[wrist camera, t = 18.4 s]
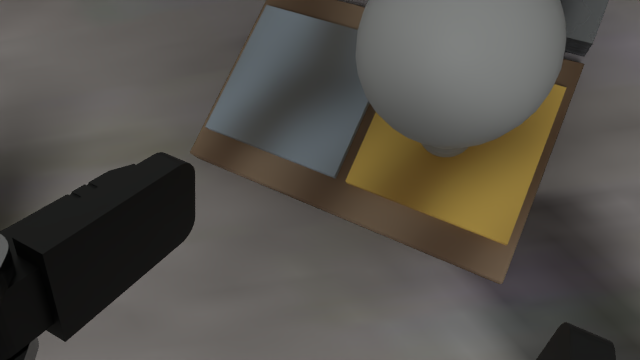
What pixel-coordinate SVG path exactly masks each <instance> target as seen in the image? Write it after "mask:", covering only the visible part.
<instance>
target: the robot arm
mask: <svg viewBox="0 0 640 360" xmlns="http://www.w3.org/2000/svg"><path fill="white" fill-rule="evenodd" d="M194 221H195V170H194V167H193V166H192V165H191V164H189V163H187V162H185V161H182V160H180V159H178V158H175V157H173V156H171V155H168V154H166V153H163V152H160V153H156V154H154V155H152V156H151V157H149V158H147V159H146V160H144V161H142V162H140V163H139V164H137V165H135V164H132V165H129V166H125V167H121V168H118V169H114V170H110V171H108V172H106V173H104V174H103V175H101V176H99V177H97V178H96V179H94V180H92V181H90V182H89V184H88V185H87V186H86V185H83V186H81V187H79V188H78V189H76V190H74V191H72V193H71V195H68V194H67V195H65V196H63V197H62V198H60V199H58V200H56V201H54V202H53V203H51V204H49V205H47V206H45V207H44V208H42V209H40V210H38V211H37V212H35V213H33V214H31V215H29V216H28V217H26V218H24V219H22V220H20V221H19V222H17V223H15V224H13V225H11V226H10V227H8V228H6V229H4V230H2V231H0V360H35V358H36V355H37V352H38V347H39V341H38V338H37V337H38V336H39V335H40V334H42V333H43V332H44V331H45V330H47V331H48V332H50V333H52V334H53V335H55V336H57V337H58V338H60V339H61V340H63V341H65V342H66V341H67V340H68V339H69V338H70V337H72V336H73V335H74V334H75V333H76V332H77V331H79V330H80V329H81V328H82V327H83V326H85V325H86V324H87V323H88V322H89V321H90V320H92V319H93V318H94V317H95V316H96V315H97V314H99V313H100V312H101V311H102V310H103V309H105V308H106V307H107V306H108V305H109V304H110V303H112V302H113V301H114V300H115V299H116V298H117V297H119V296H120V295H121V294H122V293H123V292H125V291H126V290H127V289H128V288H129V287H130V286H132V285H133V284H134V283H135V282H136V281H137V280H139V279H140V278H141V277H142V276H143V275H145V274H146V273H147V272H148V271H149V270H150V269H152V268H153V267H154V266H155V265H156V264H157V263H159V262H160V261H161V260H162V259H163V258H165V257H166V256H167V255H168V254H169V253H170V252H172V251H173V250H174V249H175V248H176V247H177V246H179V245H180V244H181V243H182V242H183V241H184V240H185V239H186V238H187V236H188V235H189V233H190V232H191V230H192V227H193V225H194ZM536 360H616V356H615V348H614V345H613V343H612V342H611V341H609V340H607V339H605V338H602V337H600V336H598V335H595V334H593V333H591V332H588V331H586V330H583V329H581V328H579V327H576V326H574V325H572V324H569V323H567V322H565V323H563V324H561V325H560V326H559V328H558V329H557V330H556V332H555V333H554V335H553V336H552V338H551V339H550V341H549V342H548V343H547V345H546V346H545V348H544V349H543V351H542V352H541V354H540V355H539V356H538V358H537V359H536Z"/></svg>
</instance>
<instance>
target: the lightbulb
mask: <svg viewBox="0 0 640 360" xmlns="http://www.w3.org/2000/svg"><path fill="white" fill-rule="evenodd" d="M565 46H566V22H565V17H564V12H563V8H562V5H561V1H560V0H369V1H368V2H367V4H366V7H365V9H364V12H363V14H362V18H361V21H360V24H359V28H358V31H357V43H356V56H355V58H356V65H357V72H358V76H359V79H360V82H361V85H362V88H363V90H364V93H365V96H366V98H367V99H368V101H369V102H370V104H371V106H372V107H373V109H374V110H375V112H376V113H377V114H378V115H379V116H380V117H381V118H383V119H384V120H385V121H386V122H387V123H388V124H389V125H390V126H391V127H392V128H393V129H395V130H396V131H398V132H399V133H401V134H402V135H404V136H405V137H407V138H409V139H412V140H414V141H417V142H419V143H421V144H422V145H423V147H424V148H425V149H426V150H427V151H428V152H430V153H431V154H433V155H436V156H439V157H453V156H456V155H459V154H461V153H463V152H464V151H465V150H466V149H467V148H468V147H470V146H476V145H481V144H483V143H486V142H489V141H492V140H494V139H497V138H499V137H501V136H502V135H504V134H506V133H508V132H509V131H511V130H513V129H514V128H516V127H518V126H519V125H521V124H522V123H523V122H524V121H525V120H527V119H528V118H529V117H530V116H531V115H532V114H533V113H535V112H536V111H537V109H538V108H539V107H540V105H541V104H542V103H543V101H544V100H545V99H546V97H547V96H548V95H549V93H550V91H551V89H552V88H553V86H554V84H555V81H556V79H557V77H558V75H559V73H560V70H561V68H562V63H563V58H564V52H565Z"/></svg>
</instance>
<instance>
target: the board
mask: <svg viewBox="0 0 640 360" xmlns="http://www.w3.org/2000/svg"><path fill="white" fill-rule="evenodd" d="M364 9H365V7H361V6H357V5H353V4H349V3H346V2H342V1H338V0H266V2H265V4H264V6H263V8H262V10H261V12H260V14H259V16H258V18H257V20H256V22H255V24H254V26H253V28H252V30H251V32H250V34H249V36H248V38H247V40H246V42H245V44H244V46H243V48H242V50H241V52H240V54H239V56H238V58H237V60H236V62H235V64H234V66H233V68H232V70H231V72H230V74H229V76H228V78H227V80H226V82H225V84H224V86H223V87H222V89H221V91H220V93H219V95H218V97H217V99H216V101H215V103H214V105H213V107H212V109H211V111H210V113H209V115H208V117H207V119H206V121H205V123H204V125H203V127H202V129H201V131H200V133H199V135H198V137H197V139H196V141H195V143H194V145H193V147H192V149H191V151H190V153H191V154H193V155H194V156H196V157H197V158H199V159H202V160H204V161H206V162H209V163H211V164H213V165H216V166H218V167H221V168H223V169H225V170H228V171H230V172H233V173H235V174H237V175H240V176H242V177H245V178H247V179H249V180H252V181H254V182H257V183H259V184H261V185H264V186H266V187H268V188H271V189H273V190H276V191H278V192H280V193H283V194H285V195H288V196H290V197H292V198H295V199H297V200H300V201H302V202H304V203H307V204H309V205H312V206H314V207H316V208H319V209H321V210H324V211H326V212H328V213H331V214H333V215H335V216H338V217H340V218H343V219H345V220H347V221H350V222H352V223H355V224H357V225H359V226H362V227H364V228H367V229H369V230H371V231H374V232H376V233H379V234H381V235H383V236H386V237H388V238H390V239H393V240H395V241H398V242H400V243H402V244H405V245H407V246H410V247H412V248H414V249H417V250H419V251H422V252H424V253H426V254H429V255H431V256H434V257H436V258H438V259H441V260H443V261H445V262H448V263H450V264H453V265H455V266H457V267H460V268H462V269H465V270H467V271H469V272H472V273H474V274H477V275H479V276H481V277H484V278H486V279H489V280H491V281H493V282H496V283H498V284H501V283H503V281H504V278H505V275H506V273H507V270H508V267H509V265H510V262H511V259H512V257H513V254H514V251H515V249H516V246H517V243H518V241H519V238H520V235H521V232H522V230H523V227H524V224H525V222H526V219H527V216H528V214H529V211H530V208H531V206H532V203H533V200H534V198H535V195H536V192H537V190H538V187H539V184H540V182H541V179H542V176H543V174H544V171H545V168H546V166H547V163H548V160H549V157H550V155H551V152H552V149H553V147H554V144H555V141H556V139H557V136H558V133H559V131H560V128H561V125H562V123H563V120H564V117H565V115H566V112H567V109H568V107H569V104H570V101H571V99H572V96H573V93H574V91H575V88H576V85H577V82H578V80H579V77H580V74H581V72H582V69H583V66H584V64H582V63H578V62H574V61H570V60H567V59H563V63H562V68H561V70H560V73H559V75H558V77H557V79H556V81H555V84H554V86H553V88H552V89H551V91H550V93H549V95H548V96H547V97H546V99H545V100H544V101H543V103H542V104H541V105H540V107H539V108H538V109H537V111H536V112H535V113H533V114H532V115H531V116H530V117H529V118H528V119H527V120H525V121H524V122H523V123H522V124H521V125H519V126H518V127H516V128H514V129H513V130H511V131H509V132H508V133H506V134H504V135H502V136H501V137H499V138H497V139H494V140H492V141H489V142H486V143H483V144H481V145H476V146H470V147H468V148H467V149H466V150H465V151H464V152H463V153H461V154H459V155H456V156H453V157H439V156H436V155H433V154H431V153H430V152H428V151H427V150H426V149H425V148H424V147H423V145H422V144H421V143H419V142H417V141H414V140H412V139H409V138H407V137H405V136H404V135H402V134H401V133H399V132H398V131H396V130H395V129H393V128H392V127H391V126H390V125H389V124H388V123H387V122H386V121H385V120H384V119H383V118H381V117H380V116H379V115H378V114H377V113H376V112H375V110H374V109H373V107H372V106H371V104H370V102H369V101H368V99H367V98H366V96H365V93H364V90H363V88H362V85H361V82H360V79H359V76H358V72H357V65H356V58H355V56H356V43H357V31H358V28H359V24H360V21H361V18H362V14H363V12H364Z"/></svg>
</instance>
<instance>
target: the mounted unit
mask: <svg viewBox="0 0 640 360" xmlns="http://www.w3.org/2000/svg"><path fill="white" fill-rule="evenodd" d="M560 1H561V5H562V8H563V12H564V17H565V22H566V46H565V52H568V53H572V54H576V55H580V56H585V55H586V53H587V52H588V50H589V48H590V47H591V45H592V44H593V41H594V39H595V36H596V33H597V30H598V28H599V25H600V22H601V20H602V17H603V14H604V12H605V9H606V6H607V4H608V1H609V0H560Z"/></svg>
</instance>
